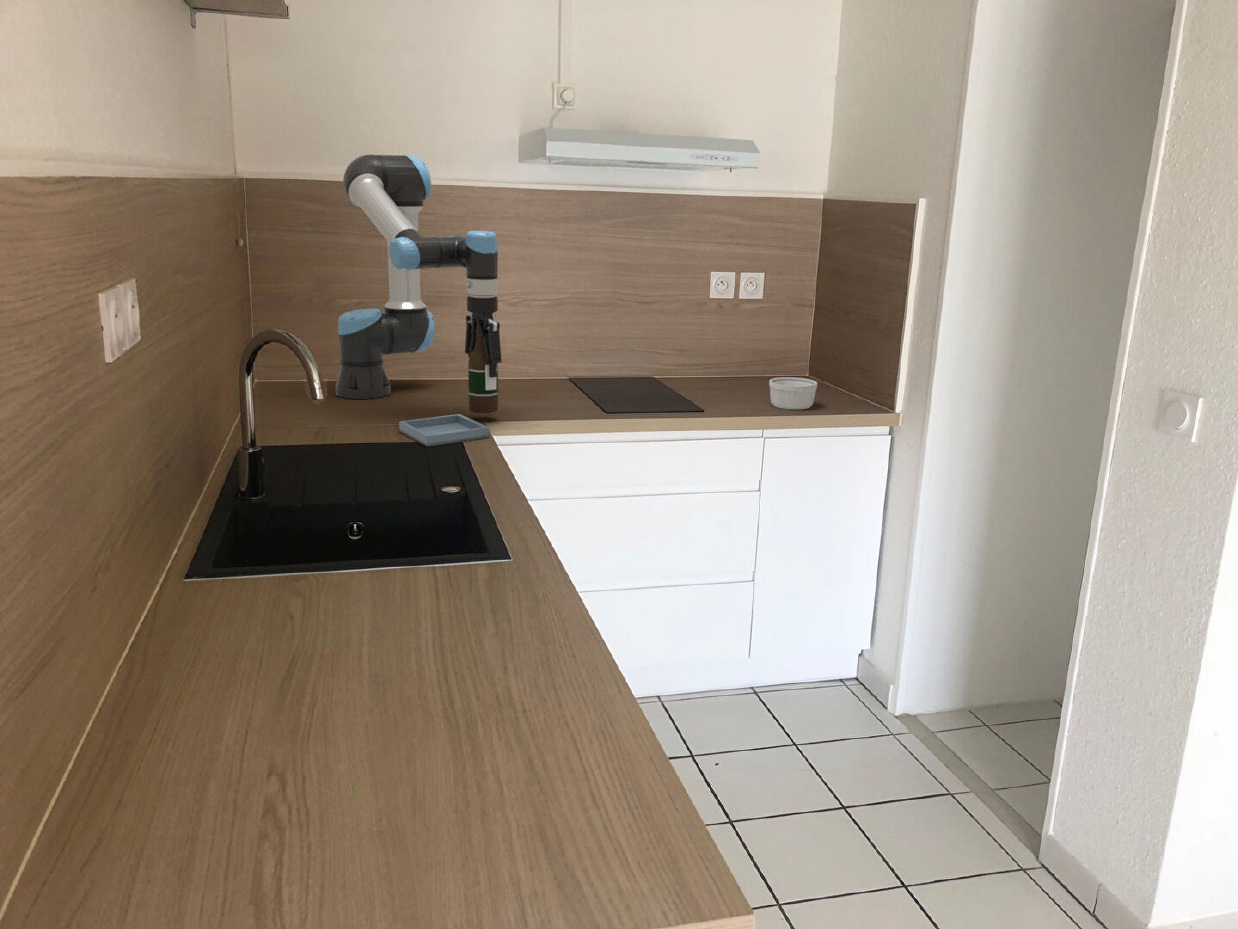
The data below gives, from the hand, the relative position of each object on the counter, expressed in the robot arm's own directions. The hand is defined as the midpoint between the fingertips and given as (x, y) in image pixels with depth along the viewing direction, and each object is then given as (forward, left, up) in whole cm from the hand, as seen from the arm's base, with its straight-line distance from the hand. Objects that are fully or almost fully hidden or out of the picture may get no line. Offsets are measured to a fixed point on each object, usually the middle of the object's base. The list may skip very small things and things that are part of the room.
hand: (483, 386), depth 247 cm
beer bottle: (0, 0, -6) cm, 6 cm away
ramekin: (+27, +82, -9) cm, 87 cm away
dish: (+8, -15, -9) cm, 19 cm away
